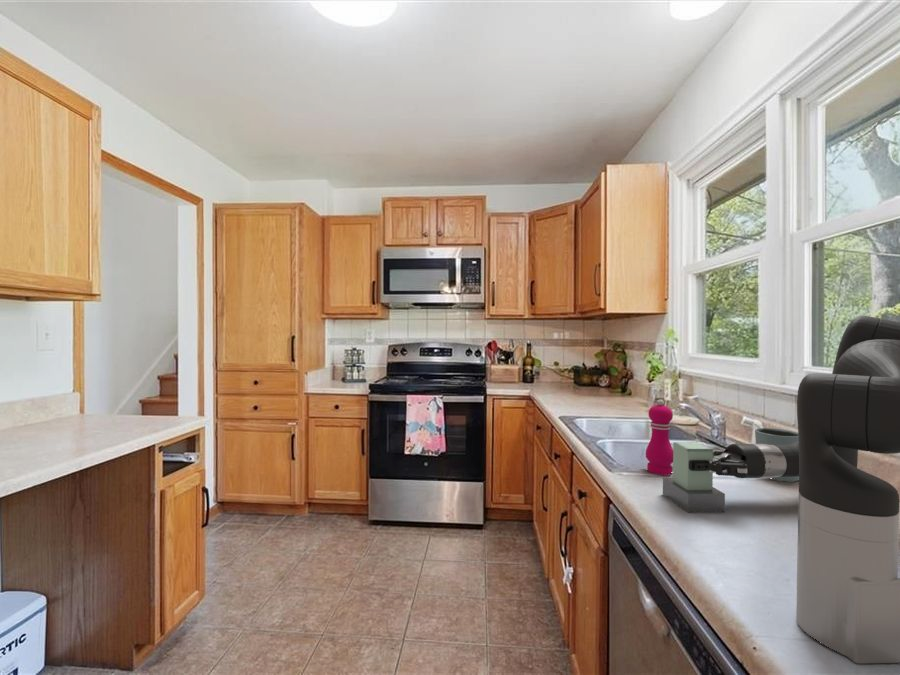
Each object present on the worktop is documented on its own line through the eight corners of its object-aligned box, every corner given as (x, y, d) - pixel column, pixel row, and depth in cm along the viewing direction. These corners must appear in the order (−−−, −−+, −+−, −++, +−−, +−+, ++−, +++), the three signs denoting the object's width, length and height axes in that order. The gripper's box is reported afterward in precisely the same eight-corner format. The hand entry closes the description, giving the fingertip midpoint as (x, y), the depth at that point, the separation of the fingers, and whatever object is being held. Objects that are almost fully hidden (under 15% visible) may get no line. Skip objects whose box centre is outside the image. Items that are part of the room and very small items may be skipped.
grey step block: (724, 512, 89) (725, 475, 89) (688, 512, 89) (688, 475, 89) (695, 494, 99) (696, 460, 99) (662, 494, 99) (663, 460, 99)
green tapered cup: (779, 484, 106) (780, 437, 106) (744, 471, 116) (745, 428, 116) (811, 481, 108) (812, 435, 108) (774, 468, 118) (775, 426, 118)
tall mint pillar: (712, 489, 91) (713, 449, 91) (687, 490, 91) (688, 449, 91) (696, 480, 97) (697, 442, 97) (672, 480, 97) (673, 442, 97)
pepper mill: (680, 474, 113) (681, 400, 113) (661, 477, 111) (662, 402, 110) (658, 466, 120) (659, 396, 120) (639, 469, 117) (640, 398, 117)
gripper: (732, 436, 102) (664, 436, 101) (780, 453, 87) (701, 453, 87) (731, 466, 102) (663, 467, 101) (780, 489, 87) (701, 489, 87)
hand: (681, 461), depth 94 cm, fingers closed on tall mint pillar, 5 cm apart
